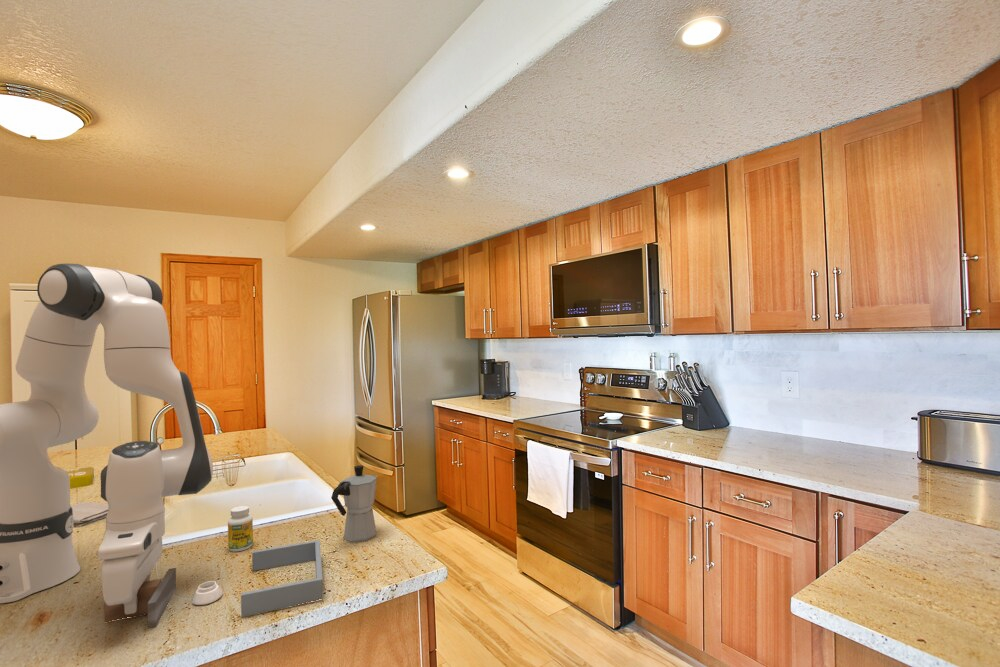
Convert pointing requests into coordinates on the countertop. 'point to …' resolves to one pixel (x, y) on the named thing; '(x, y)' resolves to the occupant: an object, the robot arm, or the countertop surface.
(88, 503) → the washcloth
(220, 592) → the white jar
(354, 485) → the coffee maker
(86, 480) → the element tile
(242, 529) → the supplement bottle
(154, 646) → the countertop surface
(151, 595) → the scraper
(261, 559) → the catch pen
